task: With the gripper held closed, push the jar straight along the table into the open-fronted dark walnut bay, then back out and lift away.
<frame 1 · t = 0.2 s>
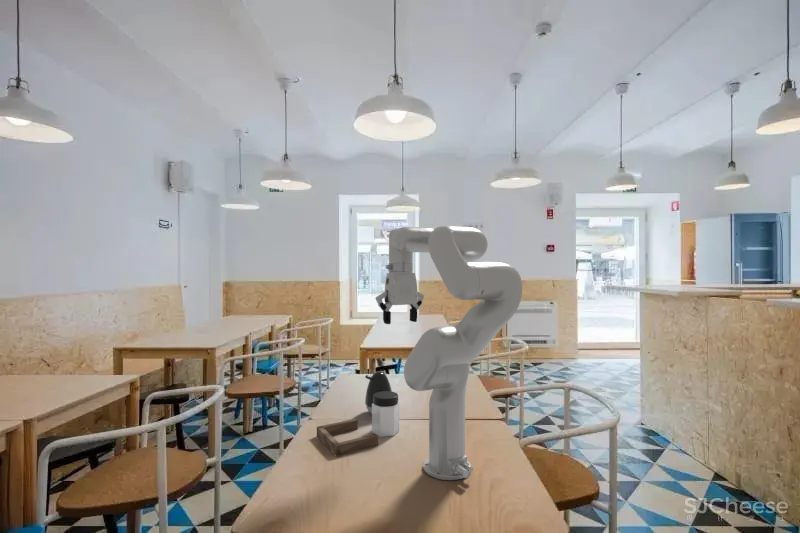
hand: (400, 322, 131), 36 cm above the table, tool pointing down, fingers open, 9 cm apart
walnut bay: (348, 440, 128), on the table
jar: (385, 432, 134), on the table
pump dispenser: (378, 413, 151), on the table
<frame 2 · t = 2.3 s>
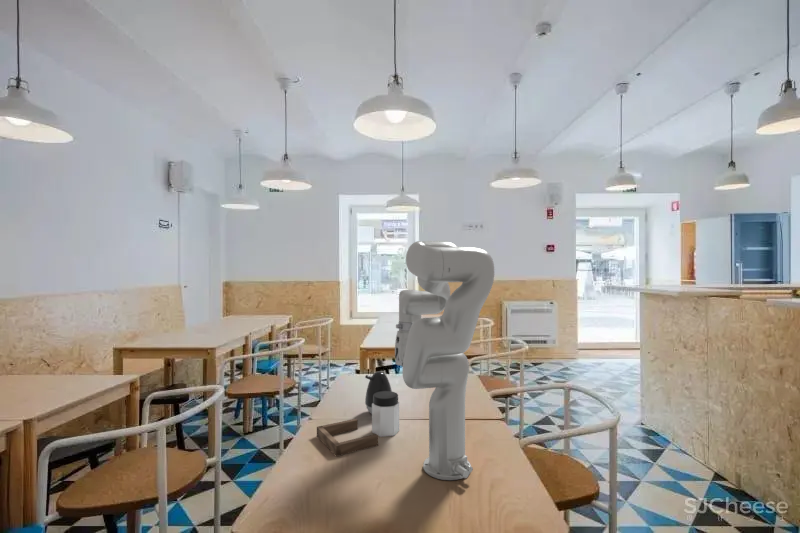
hand: (409, 380, 140), 15 cm above the table, tool pointing down, fingers closed
nothing on the table moved.
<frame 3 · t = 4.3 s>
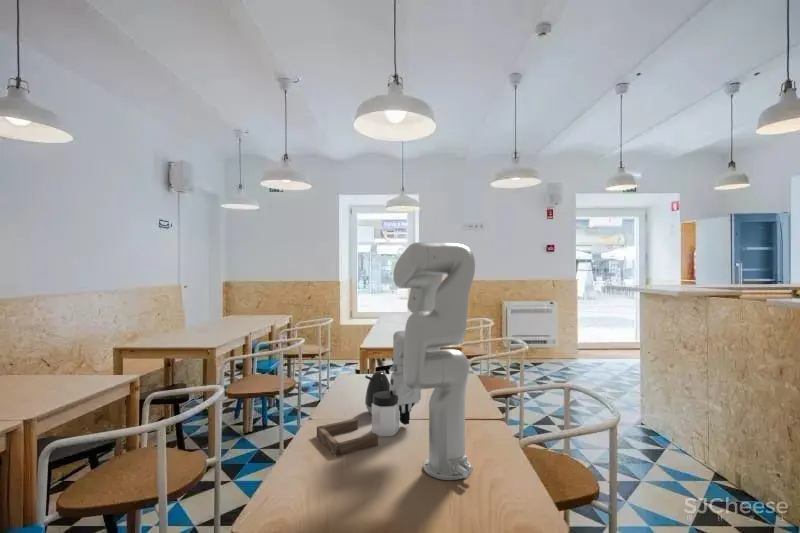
hand: (404, 422, 138), 1 cm above the table, tool pointing down, fingers closed
jar: (385, 432, 134), on the table, touching gripper
everything else where it was.
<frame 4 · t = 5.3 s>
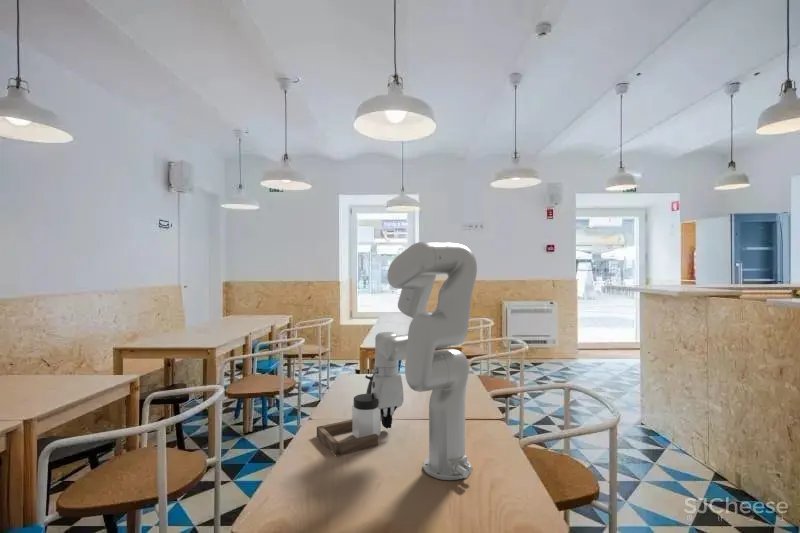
hand: (386, 426, 135), 1 cm above the table, tool pointing down, fingers closed
jar: (366, 435, 131), on the table, touching gripper
everything else where it was.
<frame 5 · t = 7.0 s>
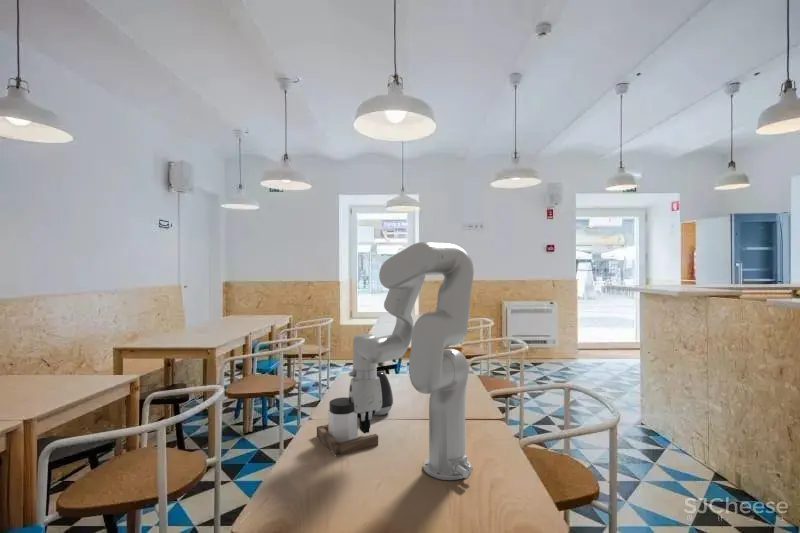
hand: (364, 431, 131), 1 cm above the table, tool pointing down, fingers closed
jar: (343, 440, 128), on the table, touching gripper
everything else where it was.
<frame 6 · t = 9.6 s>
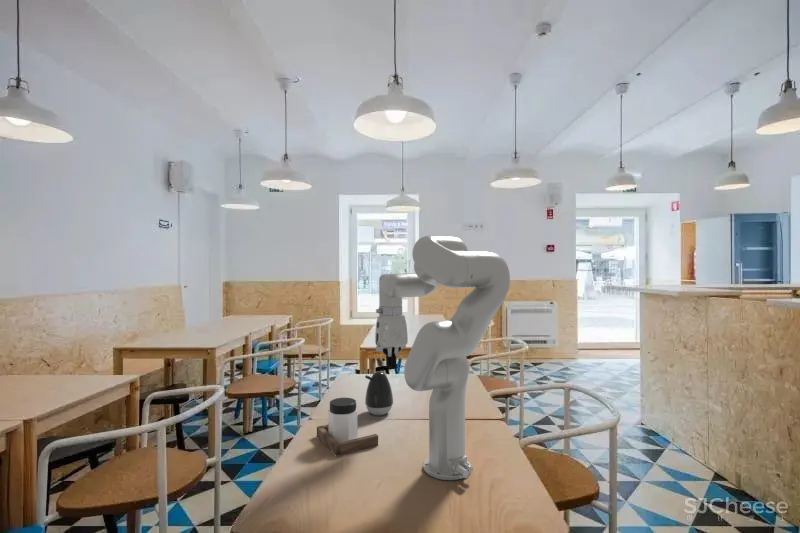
hand: (391, 367, 135), 21 cm above the table, tool pointing down, fingers closed
jar: (343, 440, 128), on the table
everything else where it was.
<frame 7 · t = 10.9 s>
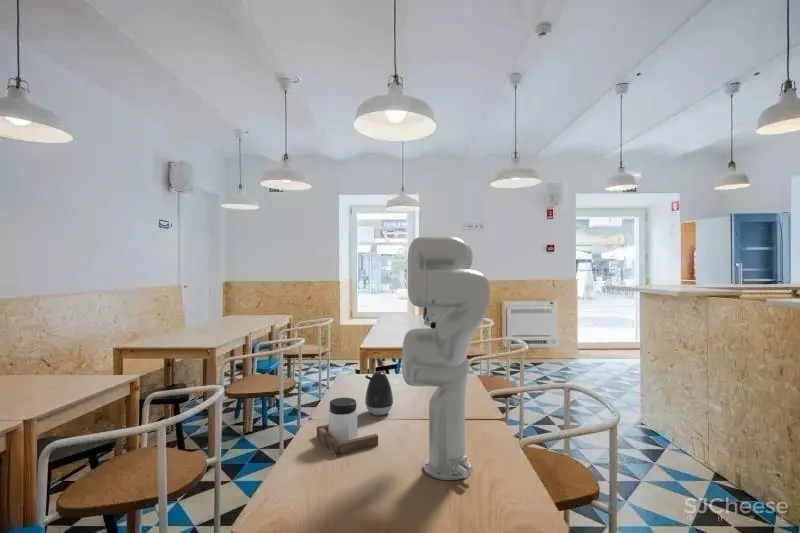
hand: (438, 342, 133), 29 cm above the table, tool pointing down, fingers closed
nothing on the table moved.
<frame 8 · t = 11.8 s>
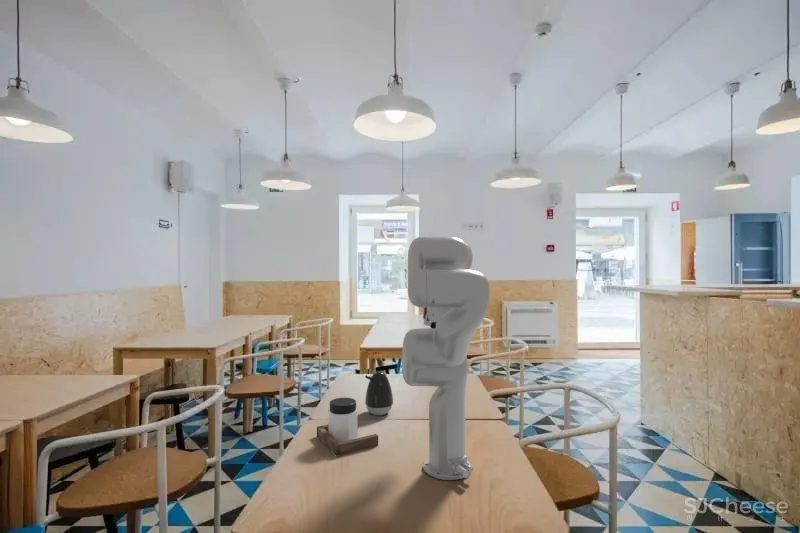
hand: (438, 342, 133), 29 cm above the table, tool pointing down, fingers closed
nothing on the table moved.
at the end: jar 1.1 cm from the target spot on the walnut bay, point 0.0 cm above the walnut bay's base; jar tilted 0° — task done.
